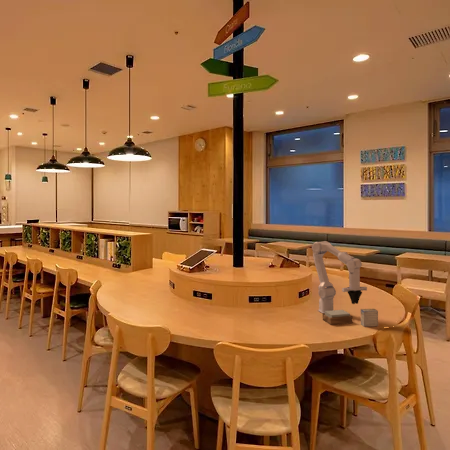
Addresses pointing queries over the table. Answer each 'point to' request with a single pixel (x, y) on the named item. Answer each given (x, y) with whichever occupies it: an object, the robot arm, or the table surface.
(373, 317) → the medicine box
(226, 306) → the table surface
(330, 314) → the cover plate
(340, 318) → the walnut box
